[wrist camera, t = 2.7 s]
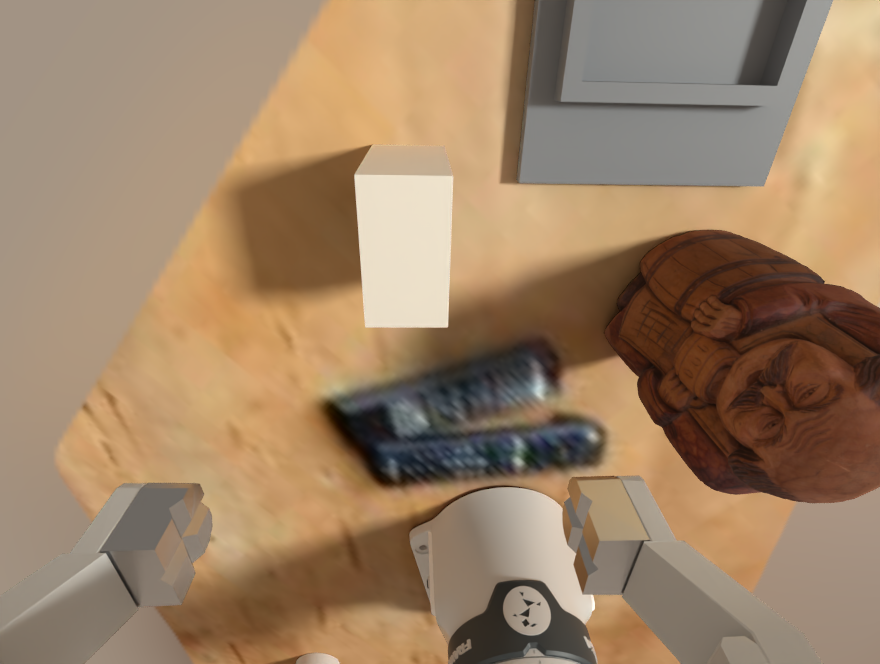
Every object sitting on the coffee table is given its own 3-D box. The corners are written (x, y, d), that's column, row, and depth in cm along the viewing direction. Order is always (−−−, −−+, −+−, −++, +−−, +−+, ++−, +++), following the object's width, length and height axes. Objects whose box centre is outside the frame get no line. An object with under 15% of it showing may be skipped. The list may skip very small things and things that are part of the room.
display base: (754, 182, 30) (790, 195, 27) (516, 179, 30) (527, 192, 27) (879, -164, 22) (951, -200, 19) (553, -180, 21) (575, -220, 18)
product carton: (444, 145, 29) (453, 176, 21) (441, 264, 33) (448, 327, 25) (369, 144, 28) (349, 174, 21) (375, 264, 32) (361, 327, 25)
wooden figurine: (676, 202, 31) (934, 341, 15) (749, 235, 32) (1052, 393, 17) (585, 340, 36) (708, 546, 21) (651, 363, 38) (812, 573, 22)
